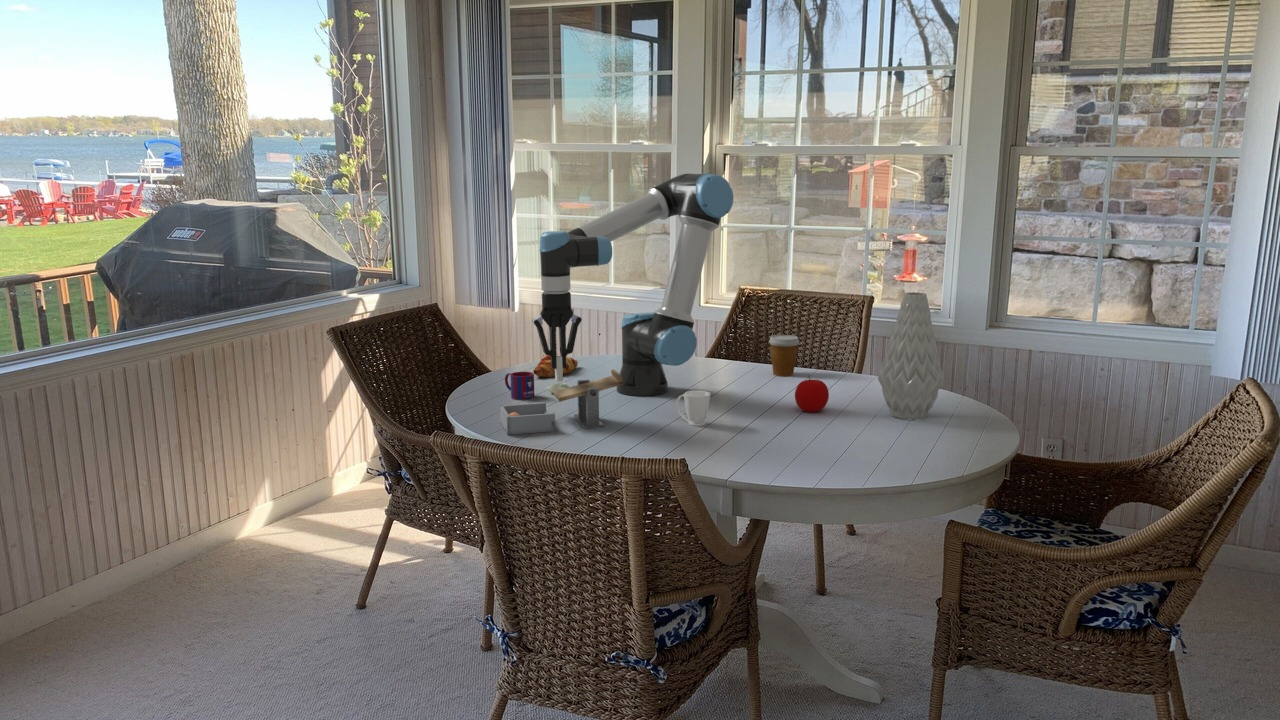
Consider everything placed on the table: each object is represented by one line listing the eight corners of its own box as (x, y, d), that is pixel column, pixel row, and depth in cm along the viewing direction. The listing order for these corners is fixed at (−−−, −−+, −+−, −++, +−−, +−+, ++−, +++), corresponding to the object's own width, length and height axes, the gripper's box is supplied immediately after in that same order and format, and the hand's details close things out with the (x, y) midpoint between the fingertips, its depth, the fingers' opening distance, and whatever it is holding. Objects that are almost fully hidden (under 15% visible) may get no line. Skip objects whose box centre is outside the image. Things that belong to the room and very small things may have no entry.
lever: (608, 373, 259) (607, 364, 258) (622, 384, 246) (621, 374, 245) (546, 389, 255) (544, 380, 254) (557, 402, 242) (555, 392, 241)
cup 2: (700, 429, 242) (700, 398, 240) (668, 422, 248) (668, 392, 246) (715, 423, 247) (716, 392, 246) (684, 416, 253) (685, 387, 252)
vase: (872, 421, 249) (878, 296, 242) (879, 406, 264) (885, 288, 257) (939, 427, 243) (947, 299, 236) (943, 411, 258) (950, 290, 252)
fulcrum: (592, 415, 255) (591, 378, 253) (603, 426, 244) (603, 388, 242) (573, 416, 254) (573, 380, 252) (584, 428, 242) (583, 390, 240)
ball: (514, 408, 244) (503, 417, 244) (516, 411, 241) (505, 420, 240) (522, 418, 245) (511, 427, 245) (525, 421, 242) (514, 431, 242)
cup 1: (521, 401, 270) (520, 377, 269) (499, 395, 277) (498, 372, 276) (539, 396, 275) (538, 373, 274) (517, 391, 282) (516, 368, 281)
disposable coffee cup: (800, 377, 298) (801, 339, 296) (769, 377, 298) (770, 339, 296) (796, 371, 308) (797, 334, 305) (766, 371, 308) (767, 334, 305)
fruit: (803, 404, 266) (804, 369, 264) (833, 409, 261) (834, 373, 258) (788, 411, 258) (789, 375, 256) (819, 416, 253) (820, 380, 251)
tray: (545, 418, 252) (545, 402, 251) (555, 431, 240) (554, 413, 239) (500, 422, 248) (499, 405, 247) (507, 435, 237) (507, 417, 236)
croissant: (569, 376, 317) (560, 354, 317) (591, 365, 311) (582, 343, 312) (528, 387, 299) (519, 364, 300) (551, 376, 294) (541, 352, 294)
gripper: (577, 288, 253) (579, 375, 258) (528, 291, 249) (532, 379, 254) (584, 292, 245) (586, 381, 251) (534, 294, 242) (537, 385, 247)
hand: (559, 380), depth 252 cm, fingers closed
